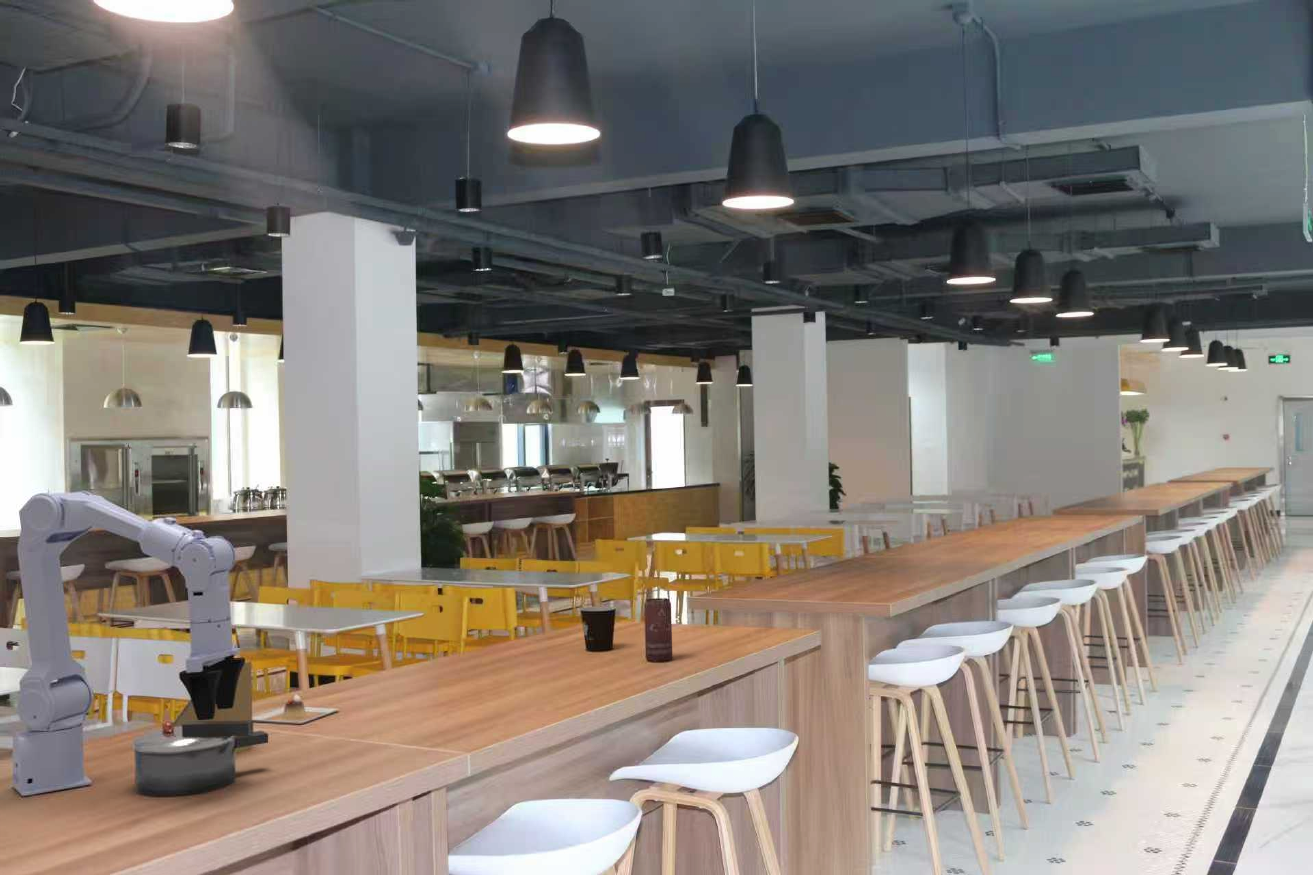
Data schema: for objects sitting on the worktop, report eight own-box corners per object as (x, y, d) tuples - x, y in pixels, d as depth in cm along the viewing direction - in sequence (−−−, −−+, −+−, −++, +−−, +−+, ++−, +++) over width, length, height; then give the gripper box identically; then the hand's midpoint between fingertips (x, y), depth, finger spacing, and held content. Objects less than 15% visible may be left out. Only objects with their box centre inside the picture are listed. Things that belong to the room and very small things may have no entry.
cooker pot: (150, 802, 171) (149, 759, 171) (124, 782, 182) (123, 742, 182) (282, 777, 183) (281, 737, 183) (250, 760, 194) (249, 722, 194)
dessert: (247, 725, 223) (246, 699, 223) (288, 711, 234) (287, 686, 234) (301, 728, 219) (301, 701, 219) (340, 714, 230) (340, 689, 230)
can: (678, 658, 278) (676, 598, 278) (663, 663, 273) (661, 601, 273) (655, 657, 281) (654, 596, 282) (640, 661, 276) (639, 600, 276)
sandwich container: (189, 742, 209) (187, 655, 209) (254, 750, 202) (252, 660, 202) (148, 753, 201) (146, 663, 201) (213, 762, 194) (211, 668, 194)
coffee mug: (616, 652, 290) (614, 610, 290) (580, 653, 290) (579, 611, 291) (618, 644, 302) (617, 604, 302) (583, 645, 302) (582, 605, 302)
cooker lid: (114, 754, 174) (114, 735, 174) (159, 731, 188) (159, 713, 189) (232, 752, 173) (231, 732, 173) (268, 729, 188) (268, 711, 188)
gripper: (219, 625, 169) (224, 722, 169) (254, 612, 184) (259, 702, 184) (169, 628, 169) (174, 725, 169) (208, 615, 184) (213, 705, 184)
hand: (215, 713), depth 176 cm, fingers open, 7 cm apart
